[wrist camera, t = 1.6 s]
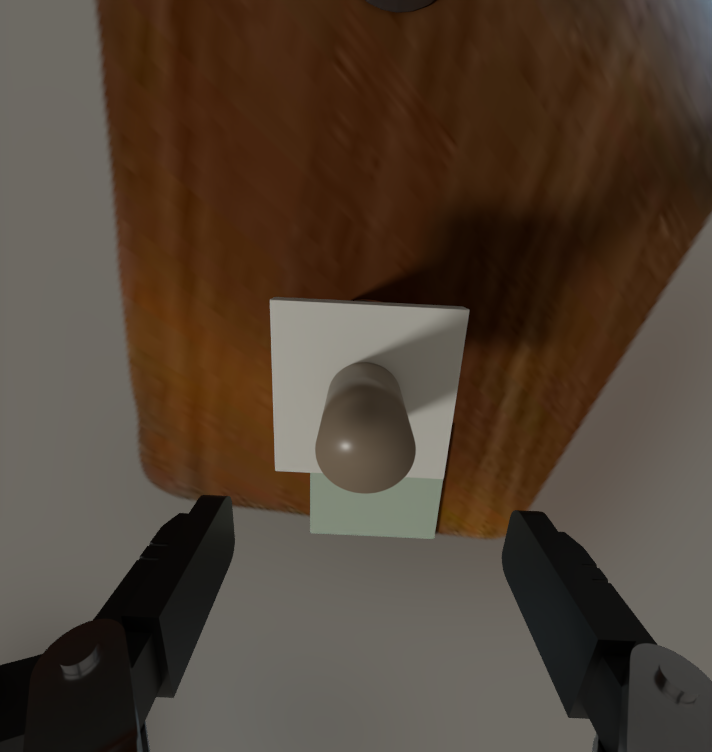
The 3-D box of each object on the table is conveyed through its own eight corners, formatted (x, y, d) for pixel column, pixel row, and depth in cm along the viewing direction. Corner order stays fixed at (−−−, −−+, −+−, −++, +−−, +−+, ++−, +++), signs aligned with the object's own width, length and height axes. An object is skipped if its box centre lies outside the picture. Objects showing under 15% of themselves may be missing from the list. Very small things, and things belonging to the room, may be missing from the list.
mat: (311, 418, 33) (310, 421, 33) (449, 425, 33) (450, 427, 33) (310, 529, 38) (310, 533, 37) (433, 535, 38) (434, 538, 37)
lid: (275, 296, 19) (231, 320, 12) (463, 306, 19) (515, 334, 12) (279, 459, 22) (246, 544, 16) (439, 467, 22) (471, 555, 16)
